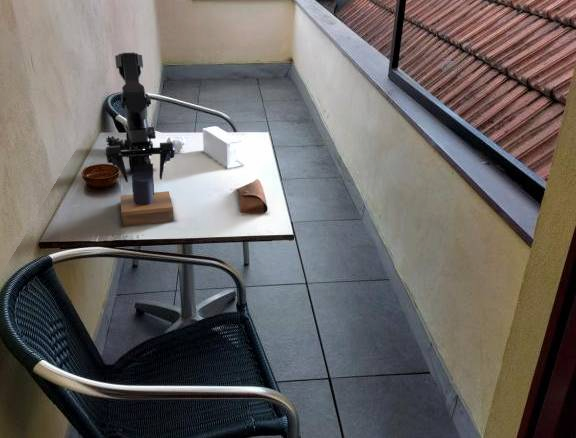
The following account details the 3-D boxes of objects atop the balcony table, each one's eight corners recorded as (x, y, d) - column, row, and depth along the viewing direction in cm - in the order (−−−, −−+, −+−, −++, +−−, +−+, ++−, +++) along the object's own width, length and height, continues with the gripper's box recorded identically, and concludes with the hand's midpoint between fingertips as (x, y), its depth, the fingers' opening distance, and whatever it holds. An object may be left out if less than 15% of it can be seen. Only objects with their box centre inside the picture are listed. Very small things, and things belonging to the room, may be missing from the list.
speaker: (134, 193, 160) (132, 162, 155) (154, 194, 161) (153, 162, 156) (132, 207, 154) (130, 175, 148) (153, 207, 155) (151, 175, 149)
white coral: (171, 156, 200) (170, 141, 197) (164, 149, 206) (163, 134, 203) (188, 154, 203) (188, 138, 200) (181, 147, 209) (180, 132, 206)
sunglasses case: (234, 188, 176) (244, 171, 174) (253, 197, 179) (263, 181, 177) (239, 213, 161) (251, 195, 158) (259, 223, 163) (271, 205, 161)
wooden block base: (121, 203, 165) (119, 189, 163) (168, 199, 169) (167, 185, 167) (123, 226, 152) (121, 212, 150) (173, 221, 156) (172, 207, 154)
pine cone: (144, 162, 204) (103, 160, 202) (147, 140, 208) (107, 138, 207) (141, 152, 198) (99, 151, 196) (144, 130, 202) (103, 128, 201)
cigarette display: (241, 165, 195) (241, 140, 190) (227, 168, 192) (227, 143, 188) (215, 148, 209) (214, 125, 205) (201, 151, 206) (201, 127, 202)
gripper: (101, 118, 147) (106, 172, 142) (171, 114, 152) (179, 166, 147) (105, 136, 157) (110, 187, 153) (170, 132, 162) (177, 181, 158)
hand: (144, 180), depth 152 cm, fingers open, 9 cm apart
